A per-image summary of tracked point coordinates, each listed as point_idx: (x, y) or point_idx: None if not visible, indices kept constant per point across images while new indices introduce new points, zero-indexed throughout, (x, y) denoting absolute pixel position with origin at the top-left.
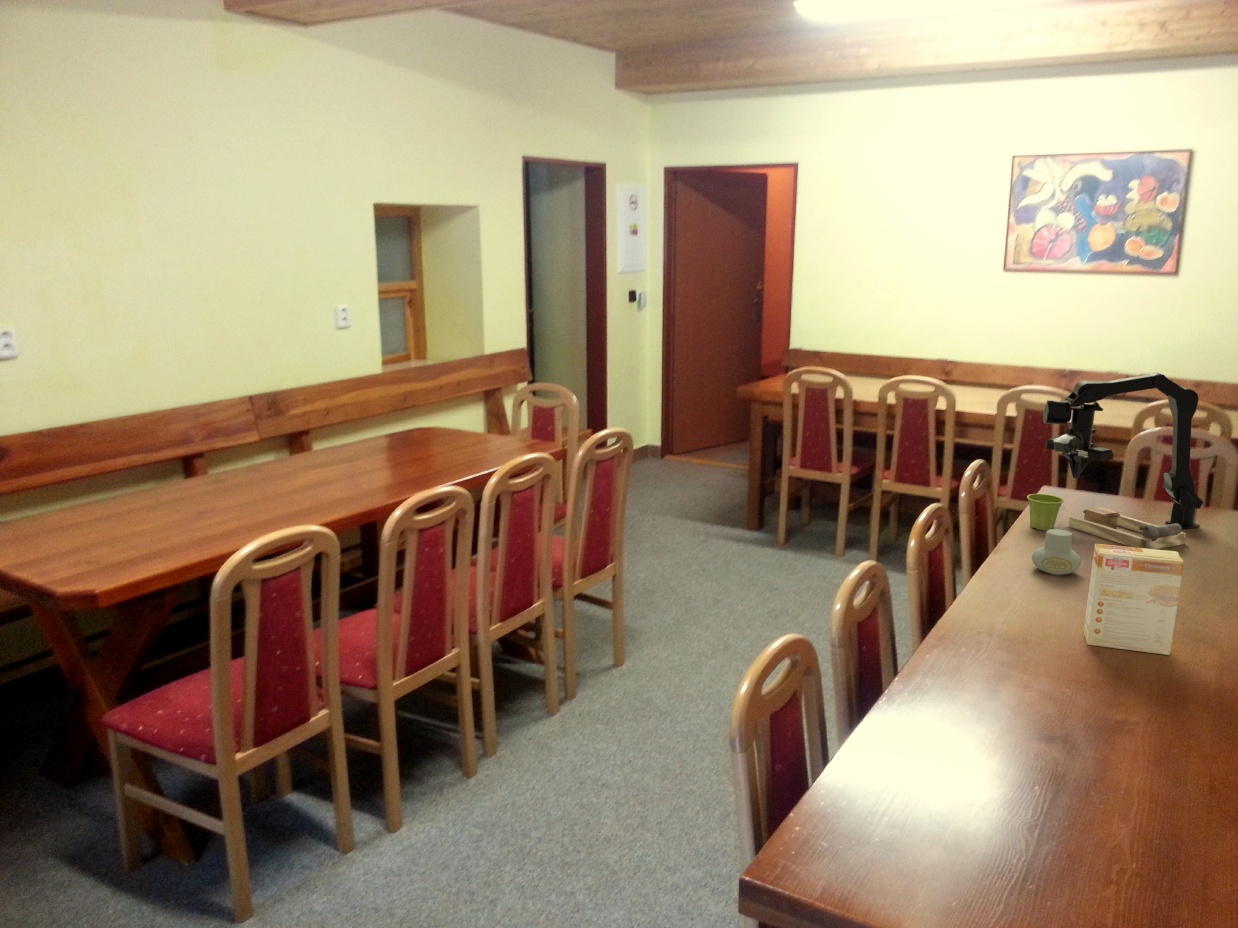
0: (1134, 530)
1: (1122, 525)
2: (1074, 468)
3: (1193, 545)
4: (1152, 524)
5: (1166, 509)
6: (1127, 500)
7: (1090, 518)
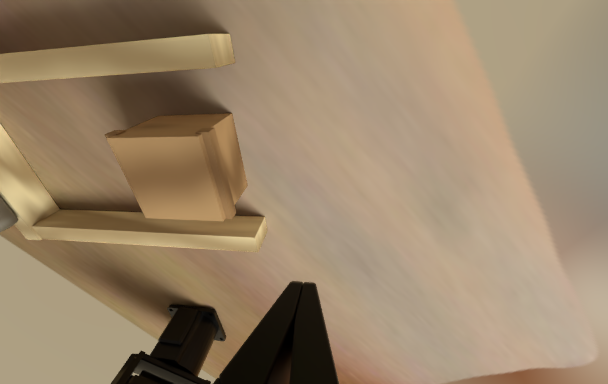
0: None
1: None
2: (291, 378)
3: None
4: (109, 241)
5: None
6: (387, 380)
7: (186, 124)
